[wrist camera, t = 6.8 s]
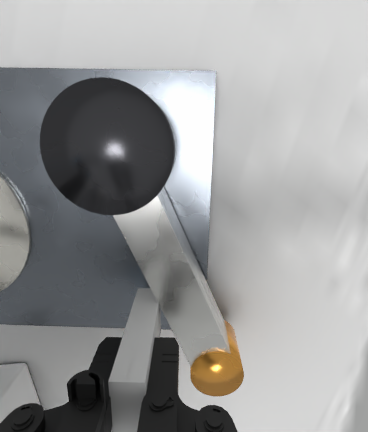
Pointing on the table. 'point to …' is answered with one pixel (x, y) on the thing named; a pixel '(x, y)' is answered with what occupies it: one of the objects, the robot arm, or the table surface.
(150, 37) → the table surface
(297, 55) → the table surface
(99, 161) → the ball lever handle
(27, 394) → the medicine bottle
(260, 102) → the table surface
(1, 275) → the dark grey base plate
